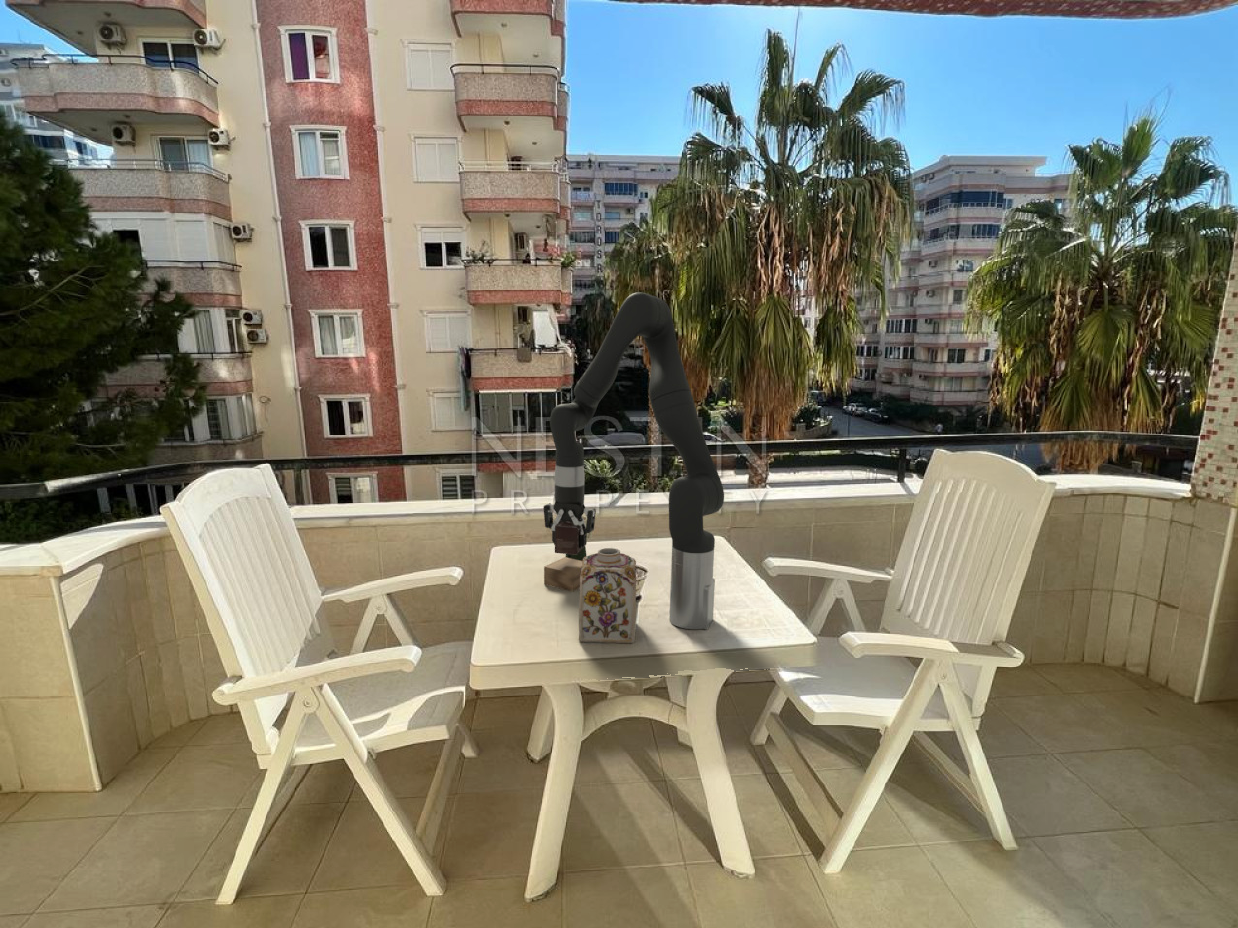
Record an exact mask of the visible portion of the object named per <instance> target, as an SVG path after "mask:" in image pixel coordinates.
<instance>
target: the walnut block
mask: <svg viewBox="0 0 1238 928" xmlns="http://www.w3.org/2000/svg"><path fill="white" fill-rule="evenodd" d="M581 567H582V561H580V560H575V559H571V558H567V557H565V556H564V557H562V558H560V559H558V560H555V561H554V562H551V563H549V564H546V565H544V567H543V582H544V583H543V585H546V586H548V587H553V588H556V589H557V588H558V589H561V590H565V591H569V592H573V593H574V592H575V591H576V590H579V589H580V580H579V579H580V572H581V570H582V569H581Z"/></svg>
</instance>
